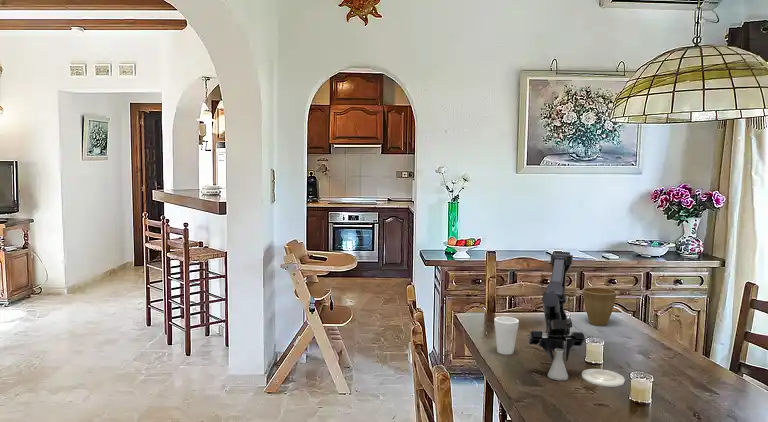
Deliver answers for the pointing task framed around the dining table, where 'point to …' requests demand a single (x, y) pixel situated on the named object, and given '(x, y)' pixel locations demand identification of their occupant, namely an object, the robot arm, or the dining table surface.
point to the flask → (558, 366)
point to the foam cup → (506, 334)
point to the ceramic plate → (603, 377)
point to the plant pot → (599, 304)
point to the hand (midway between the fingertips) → (559, 360)
